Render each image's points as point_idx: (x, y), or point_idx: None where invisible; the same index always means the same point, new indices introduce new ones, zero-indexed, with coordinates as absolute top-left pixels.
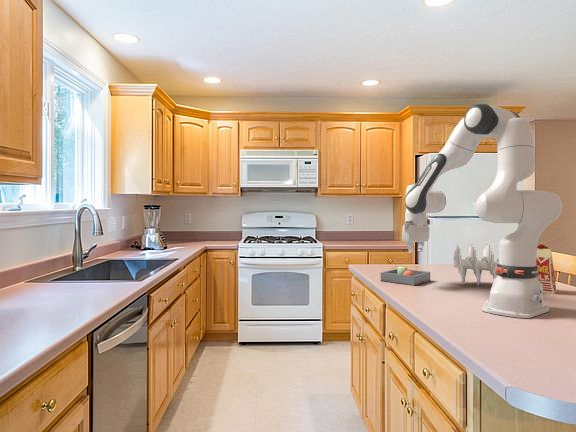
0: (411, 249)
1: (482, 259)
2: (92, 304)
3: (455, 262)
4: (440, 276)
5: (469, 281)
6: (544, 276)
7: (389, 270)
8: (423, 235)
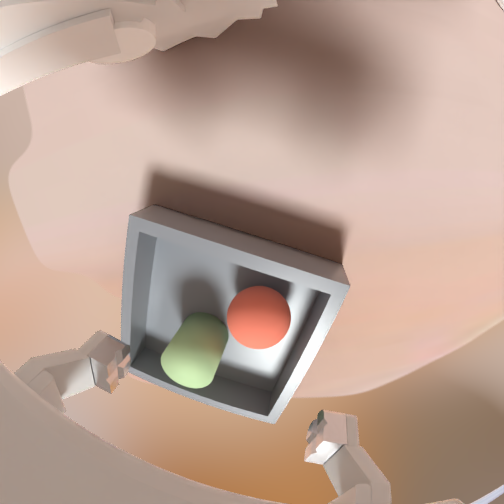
0: (353, 445)
1: None
2: (486, 497)
3: (146, 23)
4: (46, 185)
5: None
6: None
7: (200, 400)
8: (2, 459)
